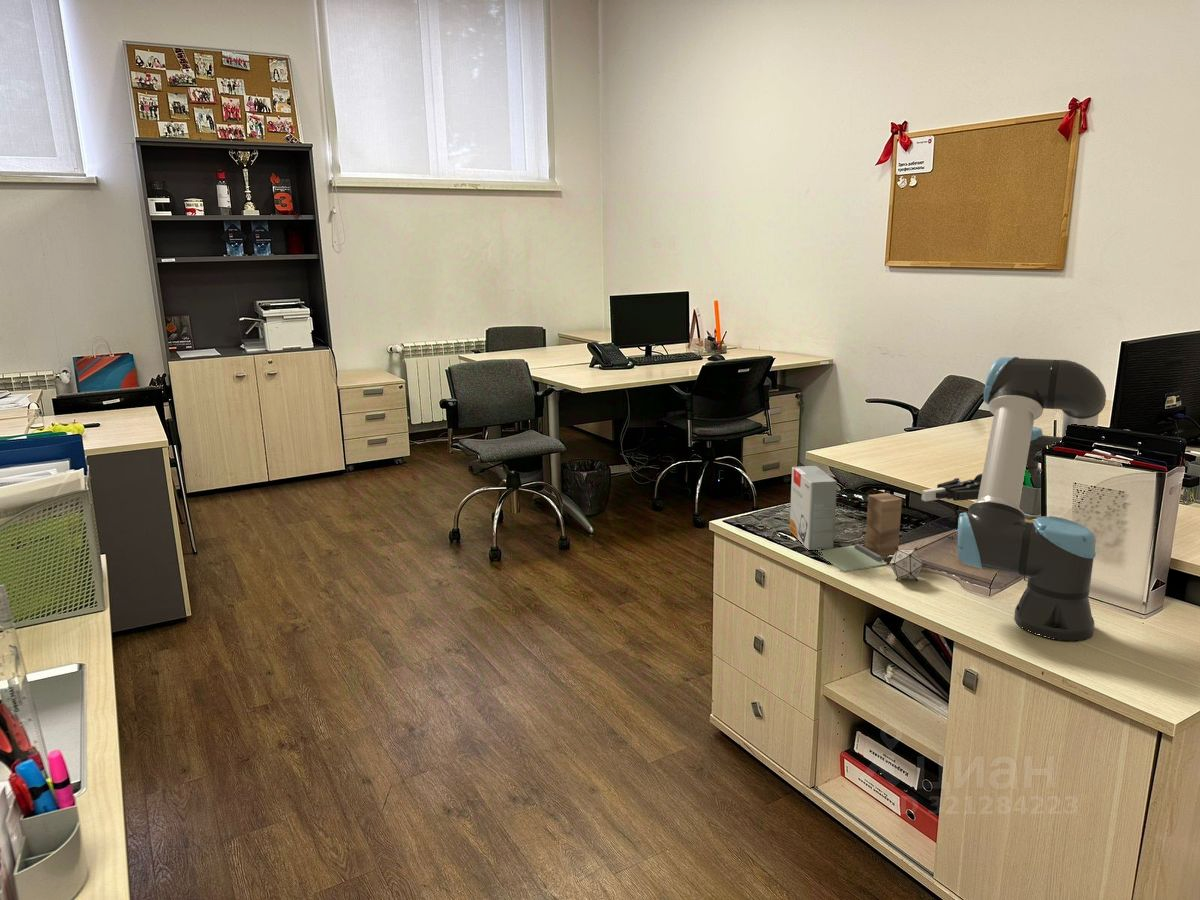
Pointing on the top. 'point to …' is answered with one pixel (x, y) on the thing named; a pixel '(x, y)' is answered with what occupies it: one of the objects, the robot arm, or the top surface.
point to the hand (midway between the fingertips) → (923, 495)
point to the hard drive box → (813, 507)
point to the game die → (906, 564)
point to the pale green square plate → (852, 558)
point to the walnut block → (883, 524)
